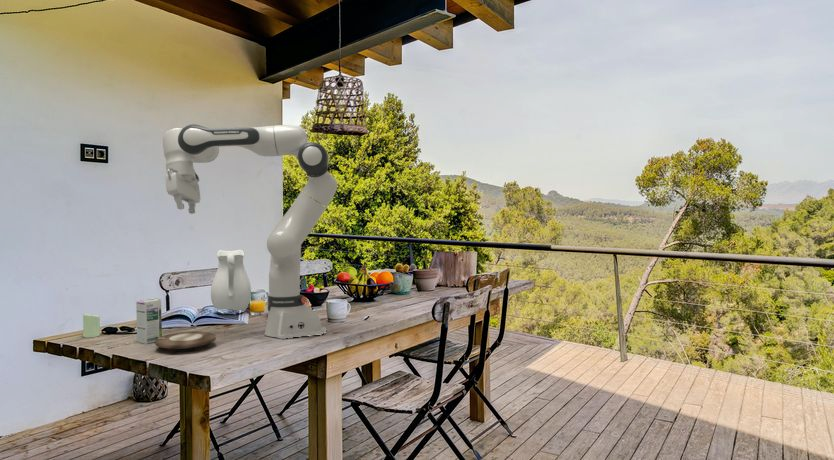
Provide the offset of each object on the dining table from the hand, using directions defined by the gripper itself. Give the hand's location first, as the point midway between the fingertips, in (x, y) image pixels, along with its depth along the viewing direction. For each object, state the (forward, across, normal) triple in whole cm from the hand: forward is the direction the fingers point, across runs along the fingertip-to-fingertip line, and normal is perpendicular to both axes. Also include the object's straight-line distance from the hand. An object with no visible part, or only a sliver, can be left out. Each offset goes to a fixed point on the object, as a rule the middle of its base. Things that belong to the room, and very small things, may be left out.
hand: (186, 211), depth 178 cm
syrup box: (+42, +3, +20) cm, 47 cm away
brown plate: (+44, -6, +5) cm, 45 cm away
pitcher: (+37, +50, +7) cm, 63 cm away
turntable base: (+46, -5, +5) cm, 47 cm away
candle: (+36, +10, +43) cm, 57 cm away
